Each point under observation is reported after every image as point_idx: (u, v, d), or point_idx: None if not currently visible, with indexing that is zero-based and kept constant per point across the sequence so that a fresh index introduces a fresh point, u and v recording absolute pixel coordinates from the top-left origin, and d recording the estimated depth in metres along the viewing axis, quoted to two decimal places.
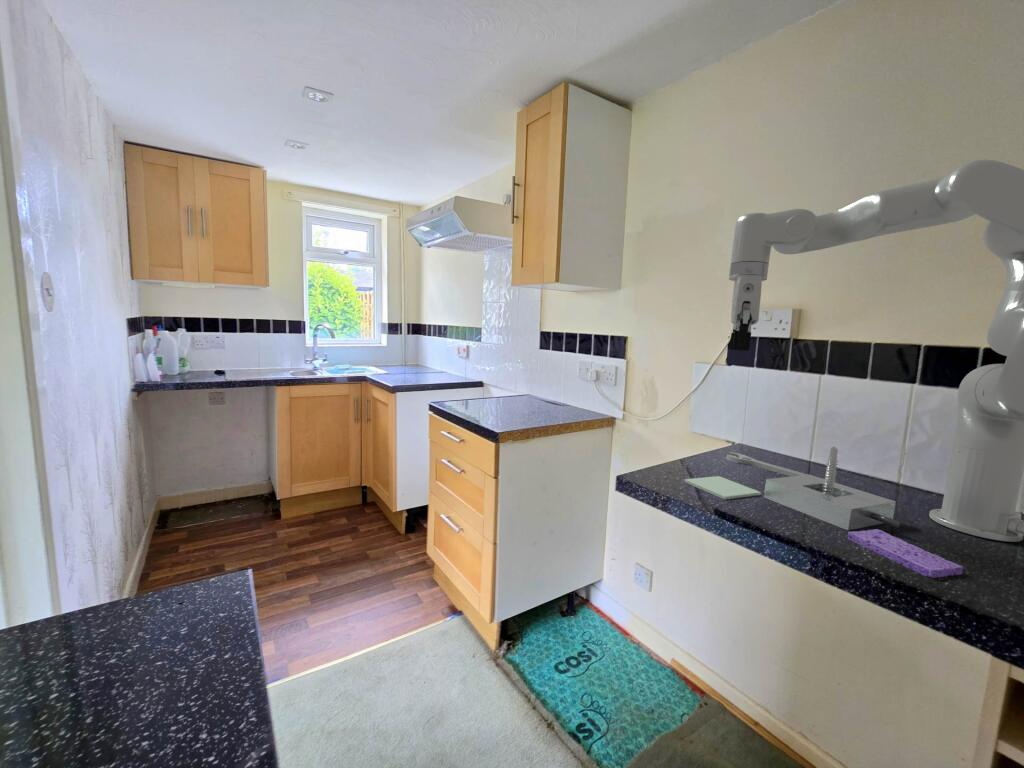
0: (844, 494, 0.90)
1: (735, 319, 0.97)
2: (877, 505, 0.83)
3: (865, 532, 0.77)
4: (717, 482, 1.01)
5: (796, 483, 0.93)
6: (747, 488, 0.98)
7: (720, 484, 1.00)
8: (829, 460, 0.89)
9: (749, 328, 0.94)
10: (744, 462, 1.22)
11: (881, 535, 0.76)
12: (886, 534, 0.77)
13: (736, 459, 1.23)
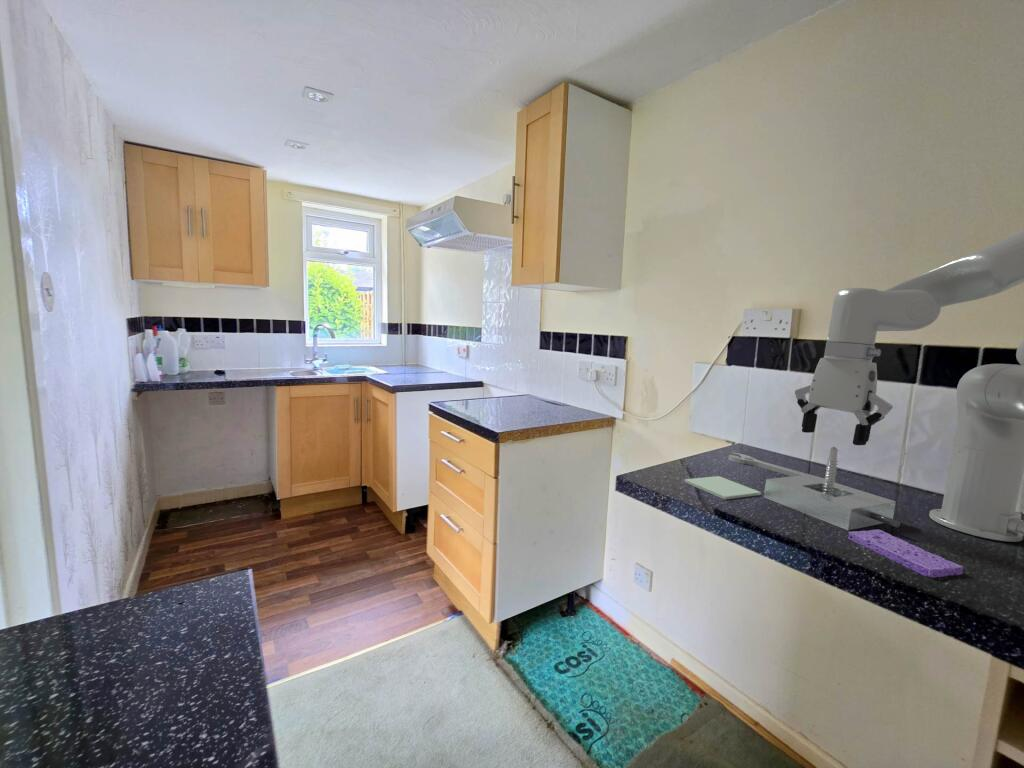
0: (844, 494, 0.90)
1: (858, 410, 0.84)
2: (877, 505, 0.83)
3: (865, 532, 0.77)
4: (717, 482, 1.01)
5: (796, 483, 0.93)
6: (747, 488, 0.98)
7: (720, 484, 1.00)
8: (829, 460, 0.89)
9: None
10: (746, 462, 1.22)
11: (881, 535, 0.76)
12: (887, 534, 0.77)
13: (738, 459, 1.23)
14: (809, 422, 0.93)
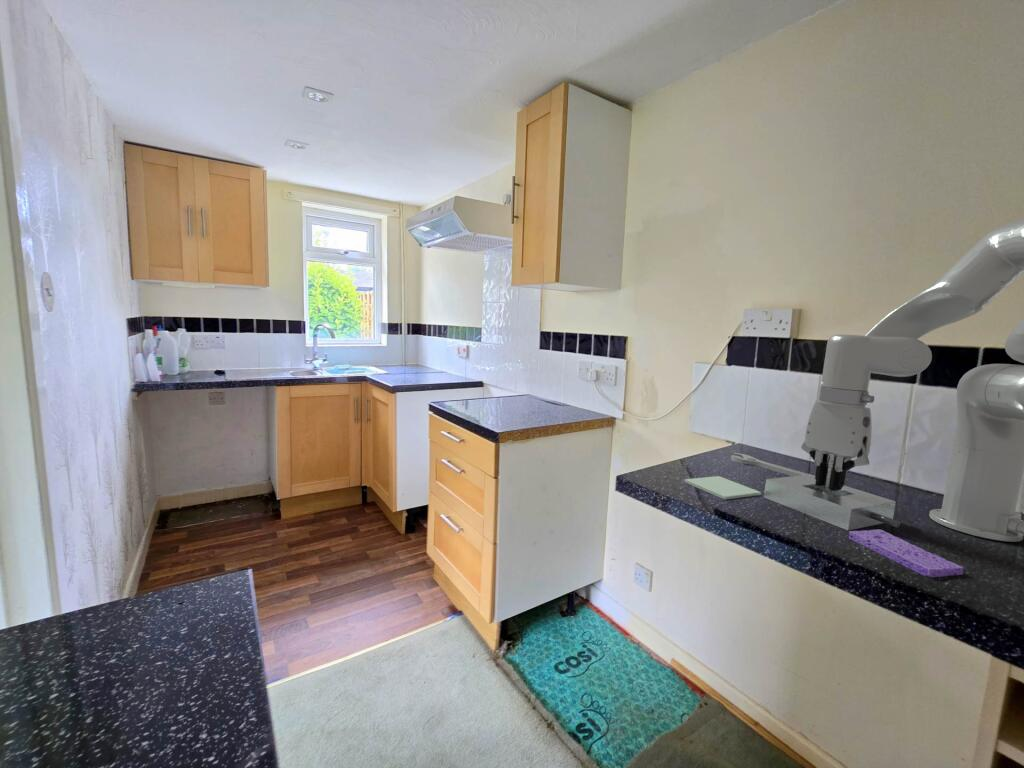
0: (844, 494, 0.90)
1: (853, 456, 0.85)
2: (877, 505, 0.83)
3: (866, 532, 0.77)
4: (717, 482, 1.01)
5: (796, 483, 0.93)
6: (747, 488, 0.98)
7: (720, 484, 1.00)
8: (829, 460, 0.89)
9: (848, 470, 0.88)
10: (749, 463, 1.22)
11: (882, 535, 0.76)
12: (889, 534, 0.77)
13: (741, 460, 1.22)
14: (823, 475, 0.91)
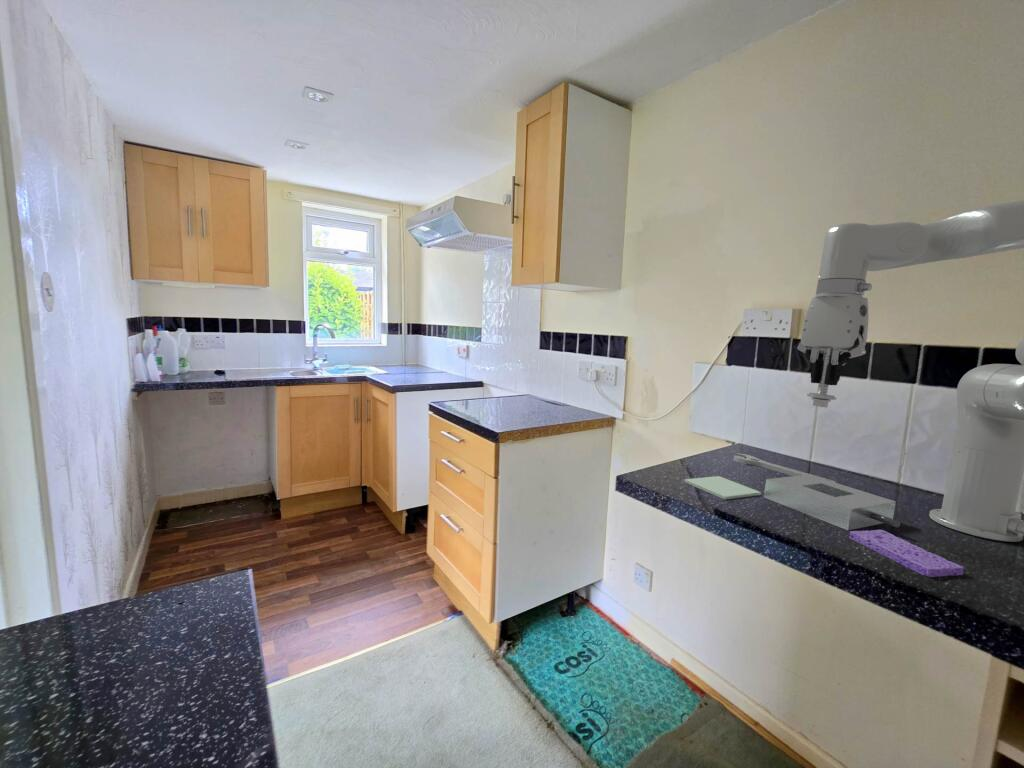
0: (844, 494, 0.90)
1: (850, 345, 0.84)
2: (877, 505, 0.83)
3: (867, 532, 0.77)
4: (717, 482, 1.01)
5: (796, 483, 0.93)
6: (747, 488, 0.98)
7: (720, 484, 1.00)
8: (825, 355, 0.88)
9: (844, 364, 0.87)
10: (752, 463, 1.21)
11: (884, 535, 0.76)
12: (890, 534, 0.77)
13: (743, 460, 1.22)
14: (818, 372, 0.90)
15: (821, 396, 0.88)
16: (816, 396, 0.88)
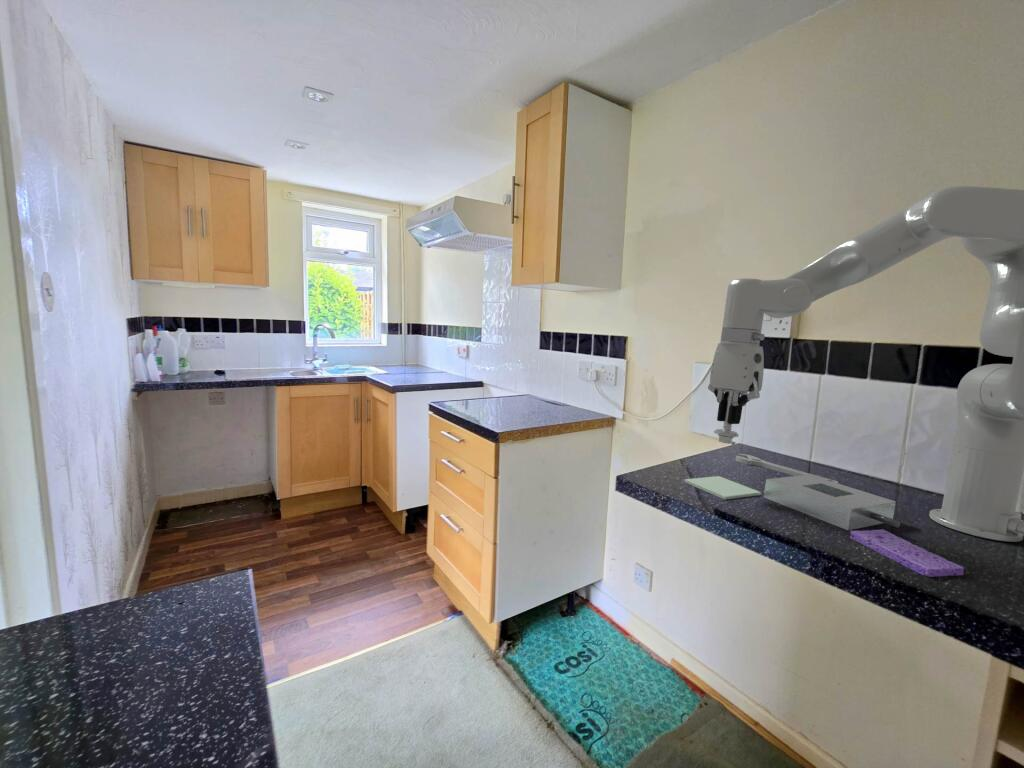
0: (844, 494, 0.90)
1: (746, 390, 0.92)
2: (877, 505, 0.83)
3: (868, 532, 0.77)
4: (717, 482, 1.01)
5: (796, 483, 0.93)
6: (747, 488, 0.98)
7: (720, 484, 1.00)
8: (728, 396, 0.97)
9: (744, 405, 0.95)
10: (754, 463, 1.21)
11: (884, 535, 0.76)
12: (891, 534, 0.77)
13: (746, 460, 1.22)
14: (723, 411, 0.98)
15: (724, 433, 0.96)
16: (720, 433, 0.97)
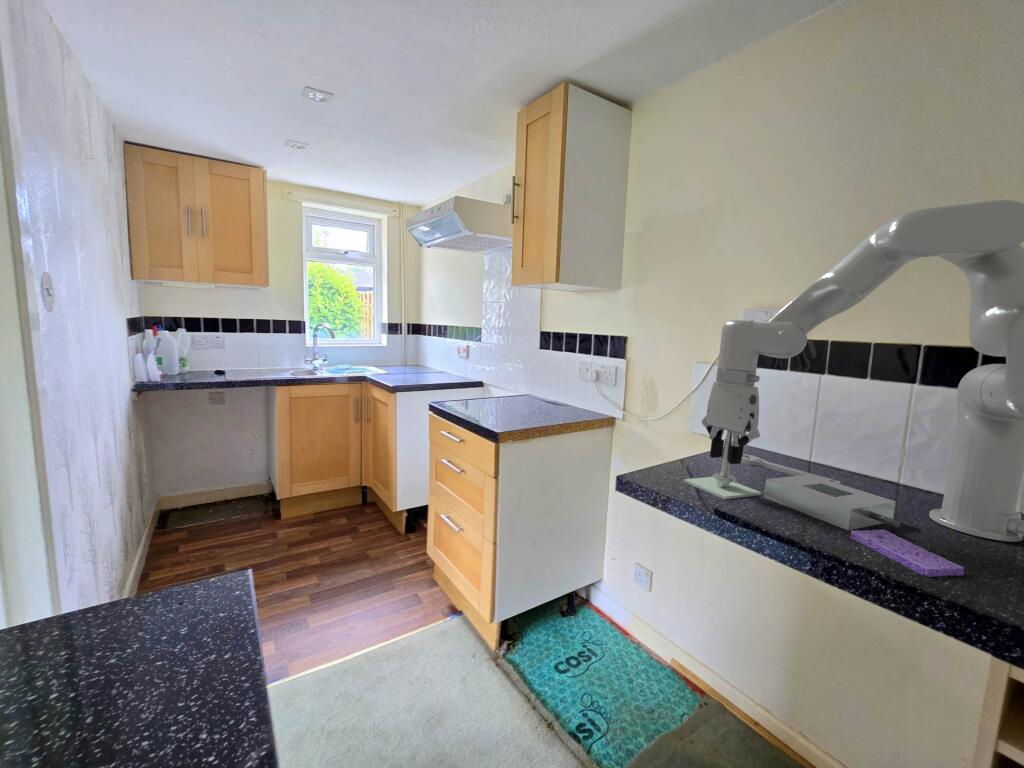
0: (844, 494, 0.90)
1: (742, 431, 0.93)
2: (877, 505, 0.83)
3: (869, 532, 0.77)
4: None
5: (796, 483, 0.93)
6: (747, 488, 0.98)
7: None
8: (725, 441, 0.98)
9: (745, 444, 0.95)
10: (756, 463, 1.21)
11: (885, 535, 0.76)
12: (892, 534, 0.77)
13: (747, 460, 1.22)
14: (716, 448, 1.00)
15: (722, 478, 0.97)
16: (718, 478, 0.98)
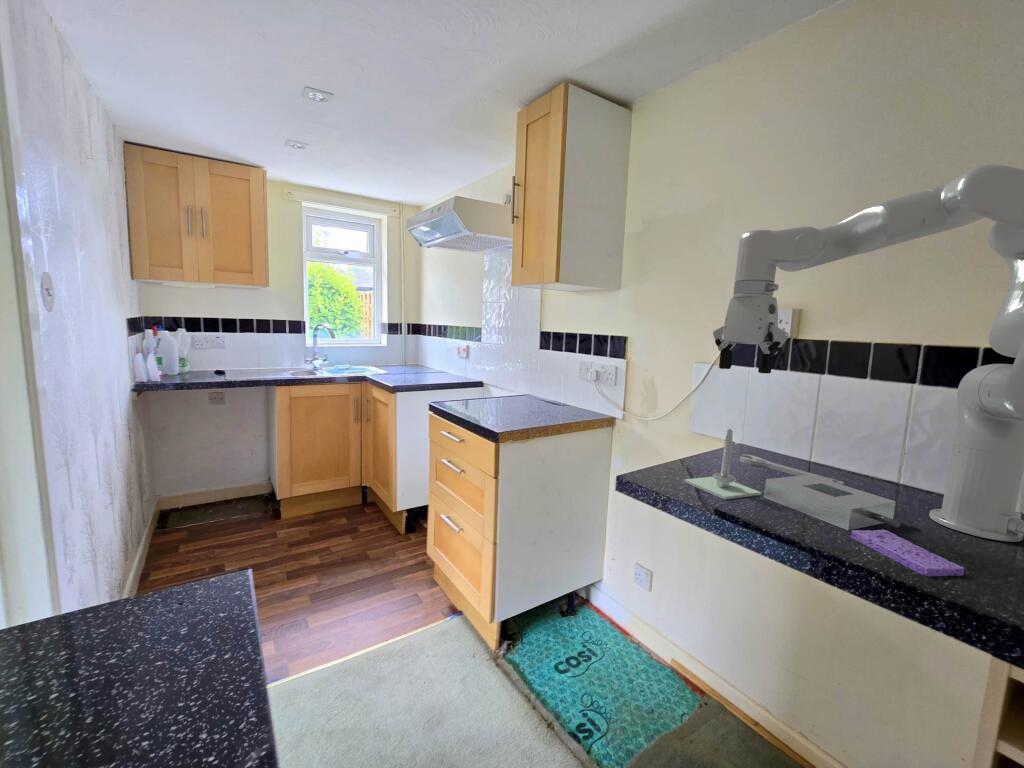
0: (844, 494, 0.90)
1: (761, 341, 0.92)
2: (877, 505, 0.83)
3: (870, 532, 0.77)
4: None
5: (796, 483, 0.93)
6: (747, 488, 0.98)
7: None
8: (725, 441, 0.98)
9: None
10: (758, 464, 1.21)
11: (886, 535, 0.76)
12: (893, 534, 0.77)
13: (750, 461, 1.22)
14: (725, 359, 1.01)
15: (722, 478, 0.97)
16: (718, 478, 0.98)
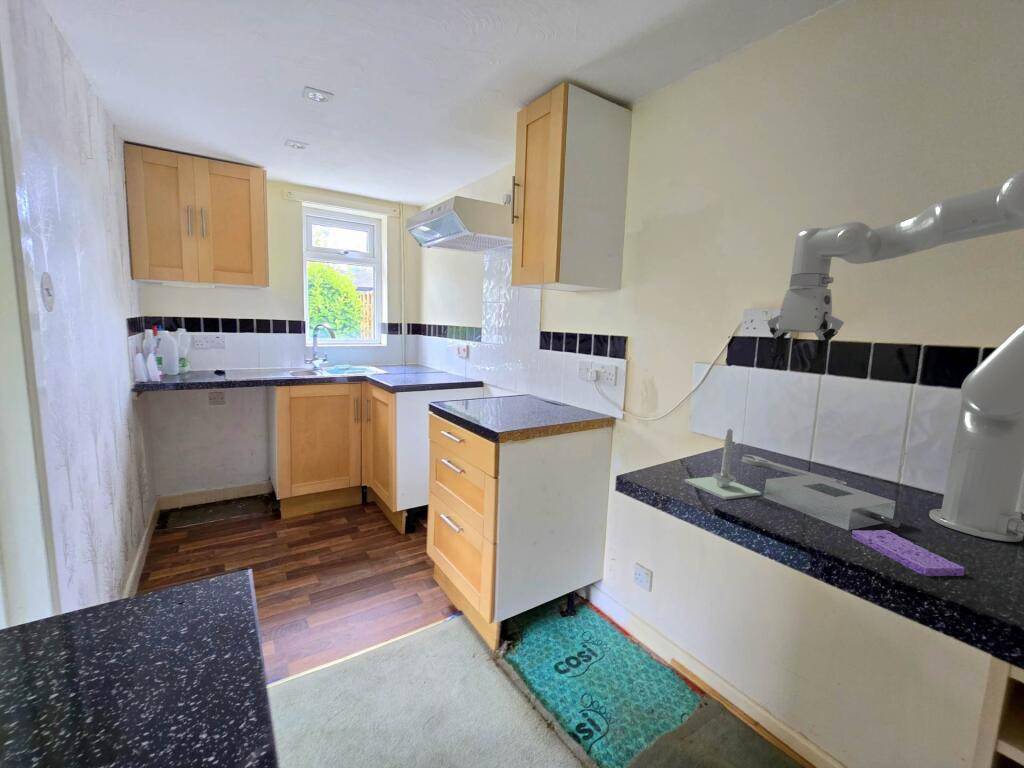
0: (844, 494, 0.90)
1: (816, 328, 1.02)
2: (877, 505, 0.83)
3: (870, 532, 0.77)
4: None
5: (796, 483, 0.93)
6: (747, 488, 0.98)
7: None
8: (725, 441, 0.98)
9: (830, 337, 1.02)
10: (760, 464, 1.21)
11: (887, 535, 0.76)
12: (894, 535, 0.77)
13: (752, 461, 1.22)
14: (779, 345, 1.11)
15: (722, 478, 0.97)
16: (718, 478, 0.98)
